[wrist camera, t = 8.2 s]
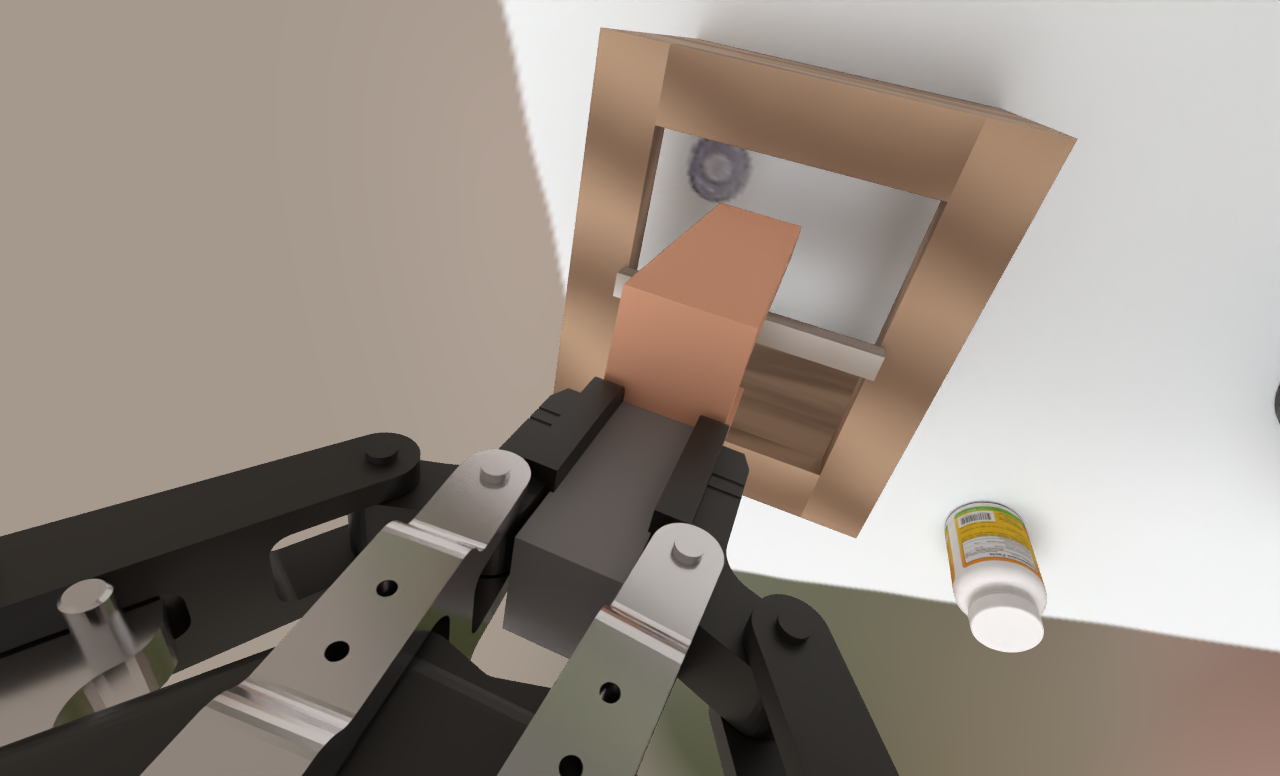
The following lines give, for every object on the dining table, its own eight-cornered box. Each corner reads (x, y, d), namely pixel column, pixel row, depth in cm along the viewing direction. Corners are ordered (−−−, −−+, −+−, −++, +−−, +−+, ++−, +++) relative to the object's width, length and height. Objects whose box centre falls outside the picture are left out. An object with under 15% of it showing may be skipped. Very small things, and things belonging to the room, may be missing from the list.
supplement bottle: (996, 566, 46) (1022, 673, 38) (929, 535, 47) (941, 634, 39) (1041, 520, 43) (1079, 626, 35) (970, 488, 44) (990, 585, 36)
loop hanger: (720, 203, 21) (502, 385, 8) (801, 227, 21) (701, 460, 8) (669, 388, 25) (470, 701, 12) (736, 412, 25) (599, 765, 12)
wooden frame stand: (695, 38, 36) (590, 26, 23) (1001, 109, 33) (1086, 142, 19) (636, 326, 47) (541, 430, 34) (862, 401, 43) (855, 551, 30)
